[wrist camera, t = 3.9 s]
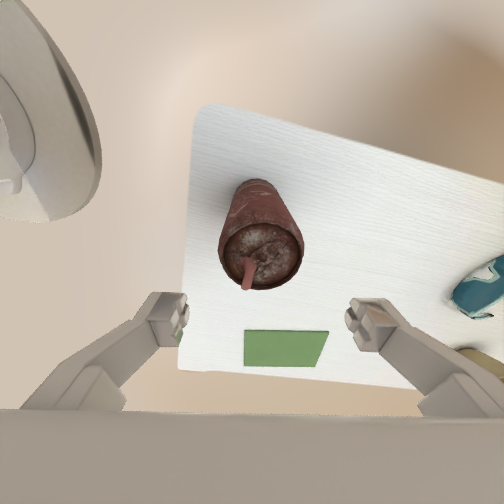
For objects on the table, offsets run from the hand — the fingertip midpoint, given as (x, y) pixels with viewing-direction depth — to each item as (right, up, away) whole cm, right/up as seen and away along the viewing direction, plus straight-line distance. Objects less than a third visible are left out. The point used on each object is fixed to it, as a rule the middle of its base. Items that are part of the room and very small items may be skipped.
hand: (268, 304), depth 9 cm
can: (0, +9, +15) cm, 18 cm away
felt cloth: (+6, -20, +33) cm, 39 cm away
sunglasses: (+43, -3, +23) cm, 49 cm away
